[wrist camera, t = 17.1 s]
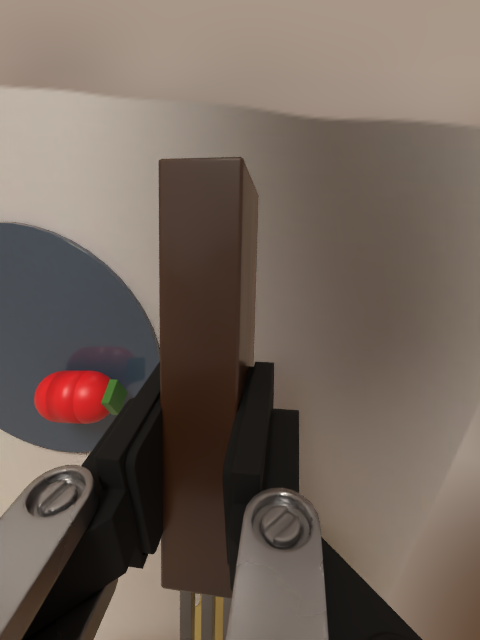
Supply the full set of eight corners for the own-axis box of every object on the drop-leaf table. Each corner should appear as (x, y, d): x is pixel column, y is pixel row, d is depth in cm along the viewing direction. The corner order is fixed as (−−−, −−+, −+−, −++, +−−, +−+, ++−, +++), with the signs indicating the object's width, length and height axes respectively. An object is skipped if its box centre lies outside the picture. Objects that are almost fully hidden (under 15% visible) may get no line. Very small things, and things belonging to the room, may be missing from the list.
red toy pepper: (37, 360, 25) (12, 407, 22) (116, 360, 24) (97, 410, 21) (64, 385, 27) (44, 430, 25) (136, 386, 26) (121, 433, 24)
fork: (183, 665, 13) (147, 795, 9) (185, 193, 10) (138, 158, 7) (256, 679, 12) (243, 820, 9) (272, 192, 10) (263, 155, 7)
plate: (-124, 224, 24) (-131, 225, 23) (139, 217, 21) (136, 218, 20) (-26, 440, 31) (-30, 443, 31) (177, 457, 28) (175, 461, 28)
